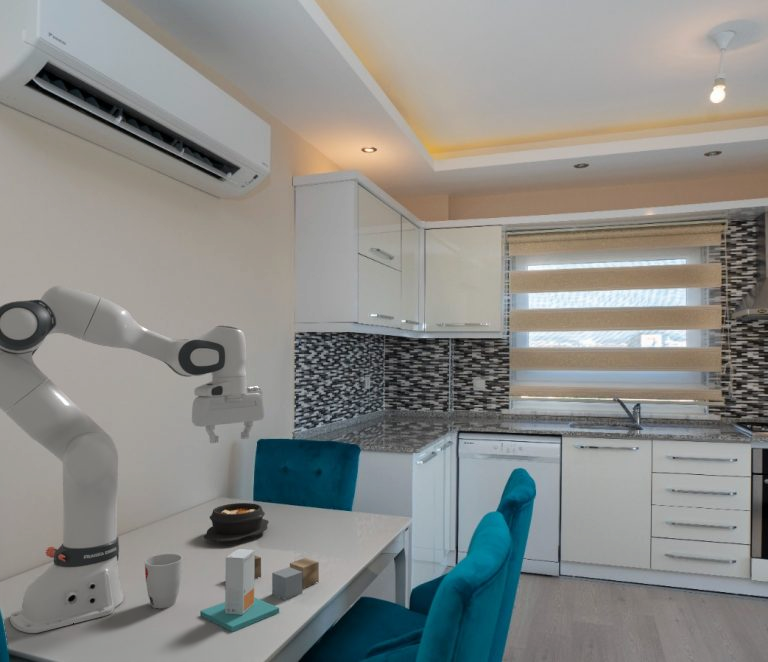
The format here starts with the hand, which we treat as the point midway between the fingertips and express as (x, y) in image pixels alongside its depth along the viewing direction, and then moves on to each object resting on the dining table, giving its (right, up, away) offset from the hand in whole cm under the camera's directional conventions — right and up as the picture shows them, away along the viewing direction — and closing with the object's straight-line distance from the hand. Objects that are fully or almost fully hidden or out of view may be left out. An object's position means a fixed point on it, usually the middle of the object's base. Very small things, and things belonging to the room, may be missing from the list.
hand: (229, 440), depth 156 cm
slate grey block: (+18, -33, -15) cm, 41 cm away
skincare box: (+9, -32, -26) cm, 42 cm away
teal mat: (+9, -33, -26) cm, 43 cm away
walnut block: (+6, -34, -5) cm, 35 cm away
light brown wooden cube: (+21, -34, -9) cm, 40 cm away
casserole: (-6, -36, +32) cm, 49 cm away
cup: (-10, -34, -20) cm, 41 cm away
